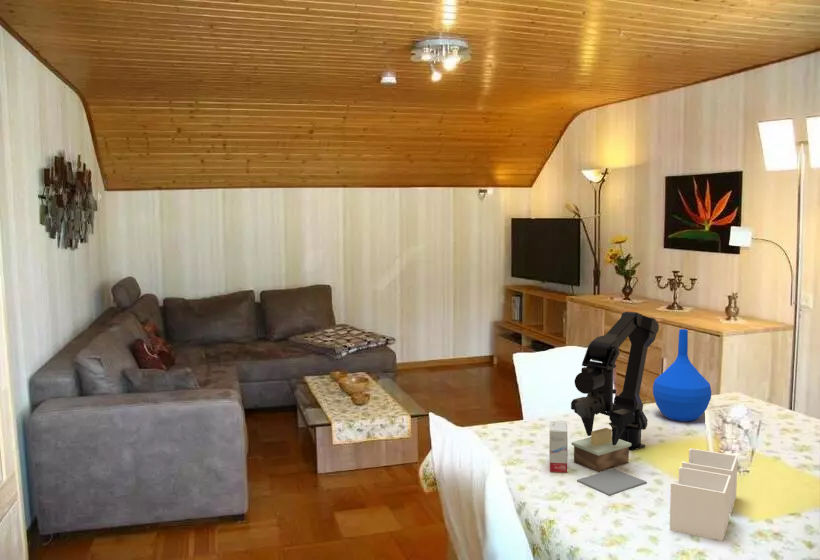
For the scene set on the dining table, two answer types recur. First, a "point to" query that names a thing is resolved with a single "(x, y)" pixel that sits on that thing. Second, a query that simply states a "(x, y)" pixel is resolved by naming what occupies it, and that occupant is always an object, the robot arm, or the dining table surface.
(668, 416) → the vase
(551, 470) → the ink box
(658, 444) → the dining table surface
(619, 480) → the mat
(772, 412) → the dining table surface
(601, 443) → the lid
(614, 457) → the box
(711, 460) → the storage container
